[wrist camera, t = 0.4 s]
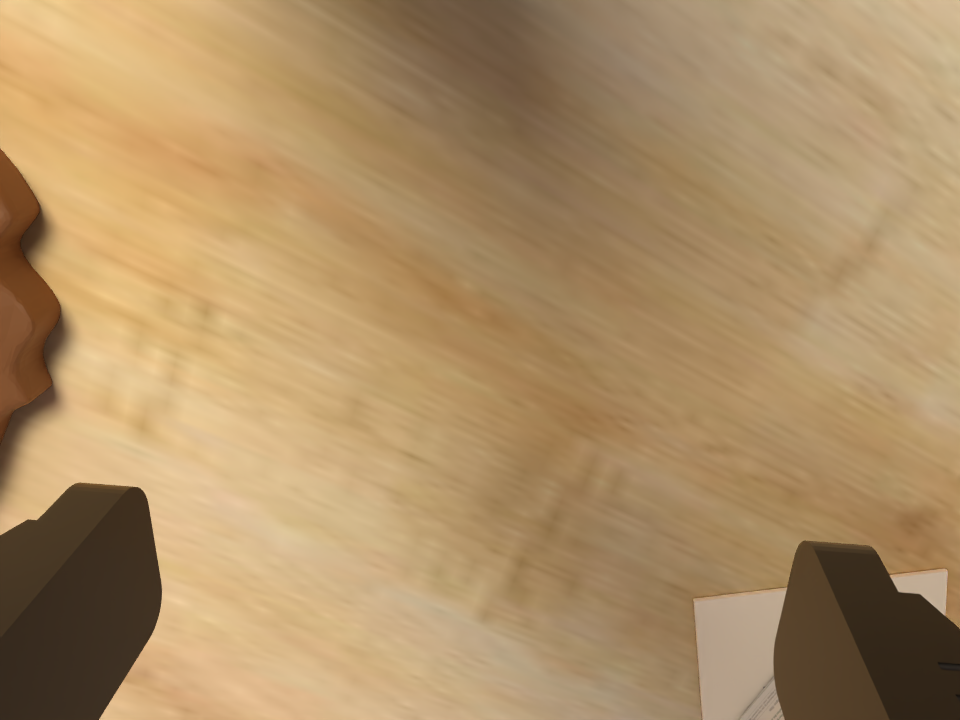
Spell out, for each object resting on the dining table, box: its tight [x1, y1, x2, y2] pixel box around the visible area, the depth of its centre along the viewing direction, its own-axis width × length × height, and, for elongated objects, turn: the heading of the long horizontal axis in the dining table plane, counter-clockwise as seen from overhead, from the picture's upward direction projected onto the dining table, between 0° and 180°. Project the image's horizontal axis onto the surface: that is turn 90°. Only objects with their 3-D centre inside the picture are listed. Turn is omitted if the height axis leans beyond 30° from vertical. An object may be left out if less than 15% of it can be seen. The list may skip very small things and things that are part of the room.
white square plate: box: [693, 568, 948, 720], centre depth 35 cm, size 12×10×1 cm
